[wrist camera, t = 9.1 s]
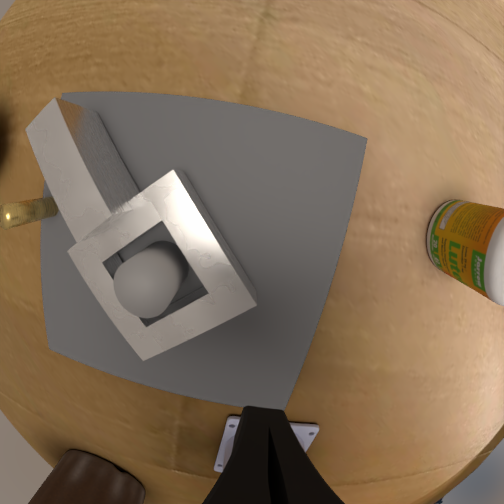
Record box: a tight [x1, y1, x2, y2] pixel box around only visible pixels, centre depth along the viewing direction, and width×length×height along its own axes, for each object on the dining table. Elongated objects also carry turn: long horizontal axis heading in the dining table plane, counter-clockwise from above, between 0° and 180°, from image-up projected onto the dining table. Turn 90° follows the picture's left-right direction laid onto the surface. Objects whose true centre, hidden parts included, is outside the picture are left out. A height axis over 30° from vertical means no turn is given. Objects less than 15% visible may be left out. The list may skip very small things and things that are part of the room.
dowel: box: [0, 196, 59, 230], centre depth 13 cm, size 1×1×5 cm
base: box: [41, 92, 367, 411], centre depth 15 cm, size 20×20×5 cm
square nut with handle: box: [26, 97, 257, 361], centre depth 13 cm, size 14×8×4 cm, turn 30°
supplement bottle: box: [427, 200, 504, 306], centre depth 12 cm, size 5×5×10 cm
